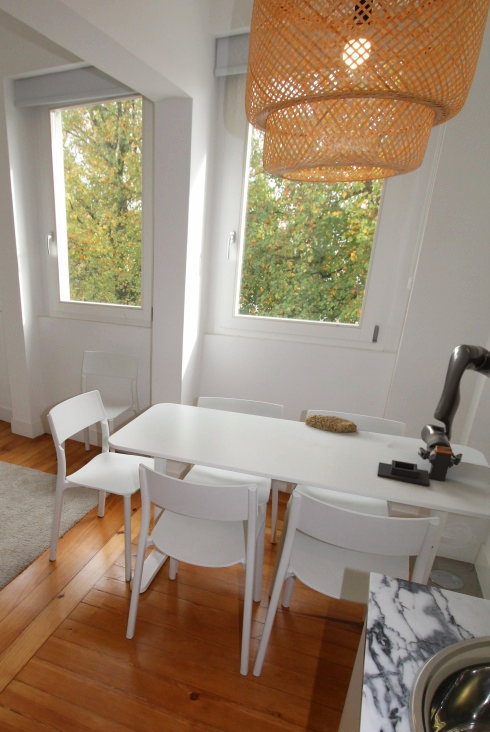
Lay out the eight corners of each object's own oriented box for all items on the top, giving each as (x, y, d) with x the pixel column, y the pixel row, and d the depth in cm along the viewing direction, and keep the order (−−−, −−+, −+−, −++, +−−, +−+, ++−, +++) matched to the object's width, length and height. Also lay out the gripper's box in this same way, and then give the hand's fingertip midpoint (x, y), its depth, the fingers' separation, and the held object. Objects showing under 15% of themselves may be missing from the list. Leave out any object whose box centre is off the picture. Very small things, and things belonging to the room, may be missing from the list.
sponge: (303, 432, 210) (348, 436, 196) (303, 414, 209) (349, 417, 195) (315, 429, 219) (359, 433, 206) (316, 413, 218) (360, 415, 205)
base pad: (427, 473, 168) (429, 464, 167) (428, 486, 158) (431, 476, 157) (378, 464, 175) (380, 455, 173) (377, 476, 165) (379, 467, 163)
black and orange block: (443, 476, 165) (451, 447, 161) (444, 481, 162) (452, 452, 158) (428, 474, 167) (436, 445, 163) (429, 478, 163) (437, 449, 159)
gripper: (419, 434, 176) (420, 449, 161) (463, 441, 170) (469, 457, 155) (414, 453, 178) (415, 469, 164) (458, 460, 172) (463, 477, 158)
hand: (441, 463), depth 160 cm, fingers closed on black and orange block, 4 cm apart
